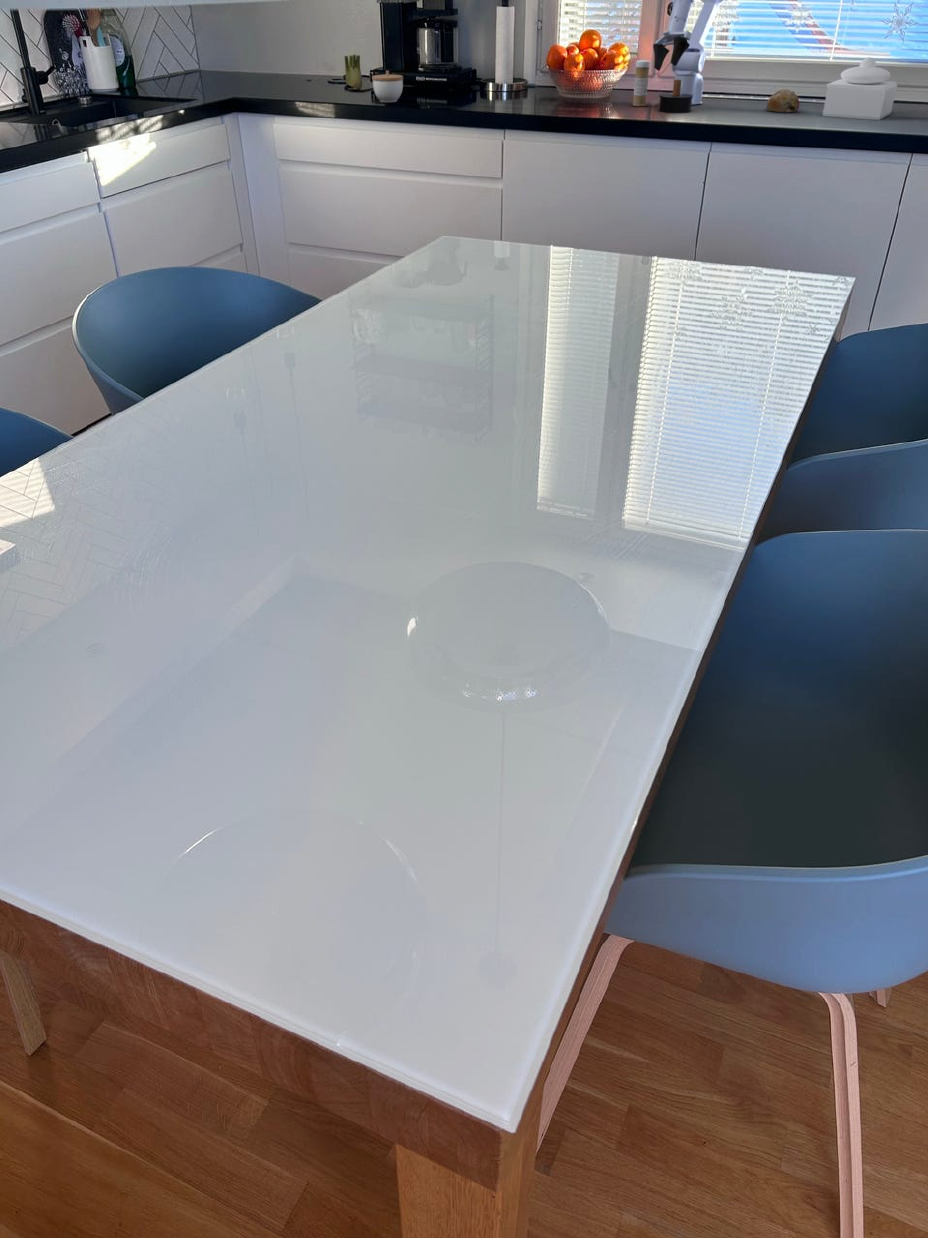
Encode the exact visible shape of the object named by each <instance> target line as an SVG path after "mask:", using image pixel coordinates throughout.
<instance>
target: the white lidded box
mask: <svg viewBox="0 0 928 1238" xmlns="http://www.w3.org/2000/svg"><path fill="white" fill-rule="evenodd" d="M891 75H892V74H891V73H890V71H889V70H887V69H885V68H883V67H878V66H877V62H876V60H875V59H874V58H873V57H870V56H869V57H865V58H863V59H862V60H861V62H860V63H859V66H853V67H849V68H846V69H844V70H843V71H842V72H841V73H840V79H837V80H833V81H831V82H829V83H826V90H827V91H826V95H825V100H824V105H823V109H822V110H823V111H822V114H821V115H822V117H832V118H843V119H859V120H860V119H861V120H872V121H874V120H875V121H880V120H881V119H884V118H885V117H888V116H889V115H891V114H892V110H893V107H894V103H895V97H896V93H897V90H898V85H899V84H897V81H889V79H890V78H891Z"/></svg>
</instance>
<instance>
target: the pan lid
mask: <svg viewBox="0 0 928 1238" xmlns="http://www.w3.org/2000/svg"><path fill="white" fill-rule="evenodd" d="M672 85H673V86H672V92H670V93H661V94H659V99H660V98H665V99H691V98H693V95H690V94H681V86H682V80H681V79H675V78H674V79H673V84H672Z"/></svg>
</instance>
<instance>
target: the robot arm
mask: <svg viewBox="0 0 928 1238" xmlns="http://www.w3.org/2000/svg"><path fill="white" fill-rule="evenodd" d="M700 1H701V2H702V3H703V6H702V8H701V10H700V12H699V14H698V17H697V19H696V21H695V23H694V26H693V28H692V31H691V32H690V31H689V30H686V28H687V25H688V20H689V17H690V14H691V12H692V11H691V10H692V7H693V4H697V2H698V0H672V10H671V13H670V16H669V20H668V24H667V27H666V30H664V31H663V32H662V36H661V37H660V38H659V39H657V40H655V43H653V45H652V49H653V53H654V62H653V63H654V64H653V68H654V69H655V70H656V71H658V72H659V71H661V69H662V67H663V63H664V61H665V59H666V57H667V55H668V54H669V53H670V49H669V48H667V46H673V48H672V52H671V53H672V54H671V56H670V57H671V58H670V68H671V71H672V72H673V75H674V80H675V79H681V80H682V86H681V94H690V95H693V98H692V104H691V106H692V105H703V102H702V99H703V91H704V79H703V78H704V77H703V76H702V75H701V74H700V73H701V72H702V71H703V69H704V66H705V60H706V56H707V54H706V49H705V47H704V46H703V45H704V42H705V40H706V38H707V36H708V33H709V31H710V28H711V26H712V24H713V21H714V19H715V17H716V14H717V12H718V10H719V7H720V6H721V3H723V2H724V1H725V0H700Z"/></svg>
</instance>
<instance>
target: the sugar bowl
mask: <svg viewBox="0 0 928 1238" xmlns="http://www.w3.org/2000/svg"><path fill="white" fill-rule="evenodd" d="M371 78H372V87H373V92H374V95H375V97H376V98H377V99H378V100H379V102H380V103H397V102H398V100H399V98H400V97H401V95H402V93H403V90H404V89H403V88H404V83H403V82H404V76H403V75H401V74H390V71H389V70H385V74H376V75H372V77H371Z"/></svg>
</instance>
